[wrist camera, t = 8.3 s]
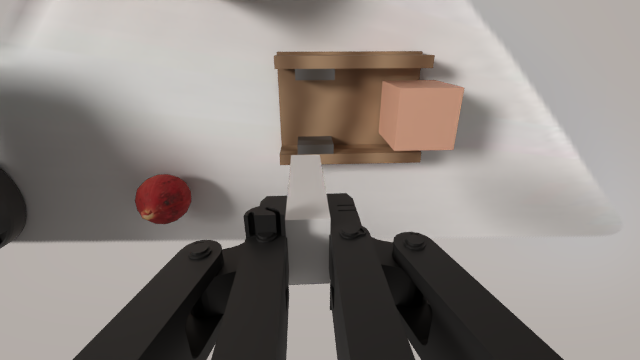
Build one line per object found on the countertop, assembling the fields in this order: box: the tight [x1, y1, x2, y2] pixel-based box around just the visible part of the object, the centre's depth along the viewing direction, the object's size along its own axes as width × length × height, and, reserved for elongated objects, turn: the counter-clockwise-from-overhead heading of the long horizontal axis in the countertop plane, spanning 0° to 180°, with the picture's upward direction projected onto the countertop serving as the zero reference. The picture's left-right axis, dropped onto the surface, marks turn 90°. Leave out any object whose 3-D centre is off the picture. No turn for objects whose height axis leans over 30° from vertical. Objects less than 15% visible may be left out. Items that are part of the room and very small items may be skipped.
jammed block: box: [379, 80, 464, 151], centre depth 33 cm, size 6×6×7 cm
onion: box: [135, 174, 191, 224], centre depth 36 cm, size 6×6×8 cm
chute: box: [274, 51, 435, 165], centre depth 35 cm, size 16×12×4 cm
